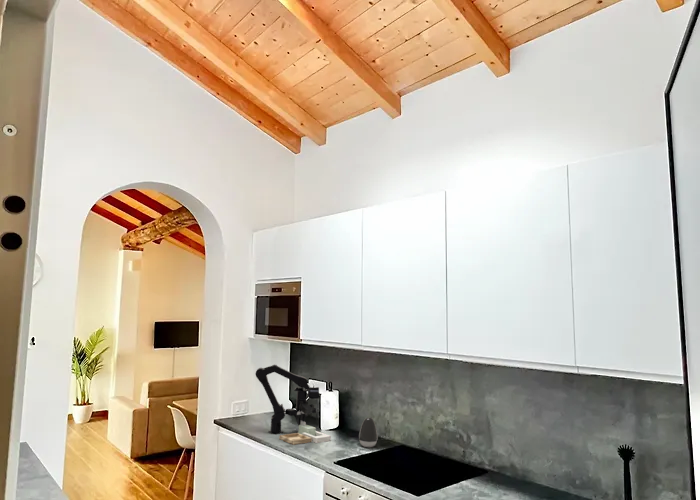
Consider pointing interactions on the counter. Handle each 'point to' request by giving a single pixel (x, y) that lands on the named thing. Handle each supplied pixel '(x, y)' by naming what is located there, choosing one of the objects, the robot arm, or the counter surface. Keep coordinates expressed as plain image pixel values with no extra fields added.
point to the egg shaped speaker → (368, 433)
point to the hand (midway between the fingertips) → (300, 425)
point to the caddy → (306, 428)
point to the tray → (295, 438)
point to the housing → (318, 437)
